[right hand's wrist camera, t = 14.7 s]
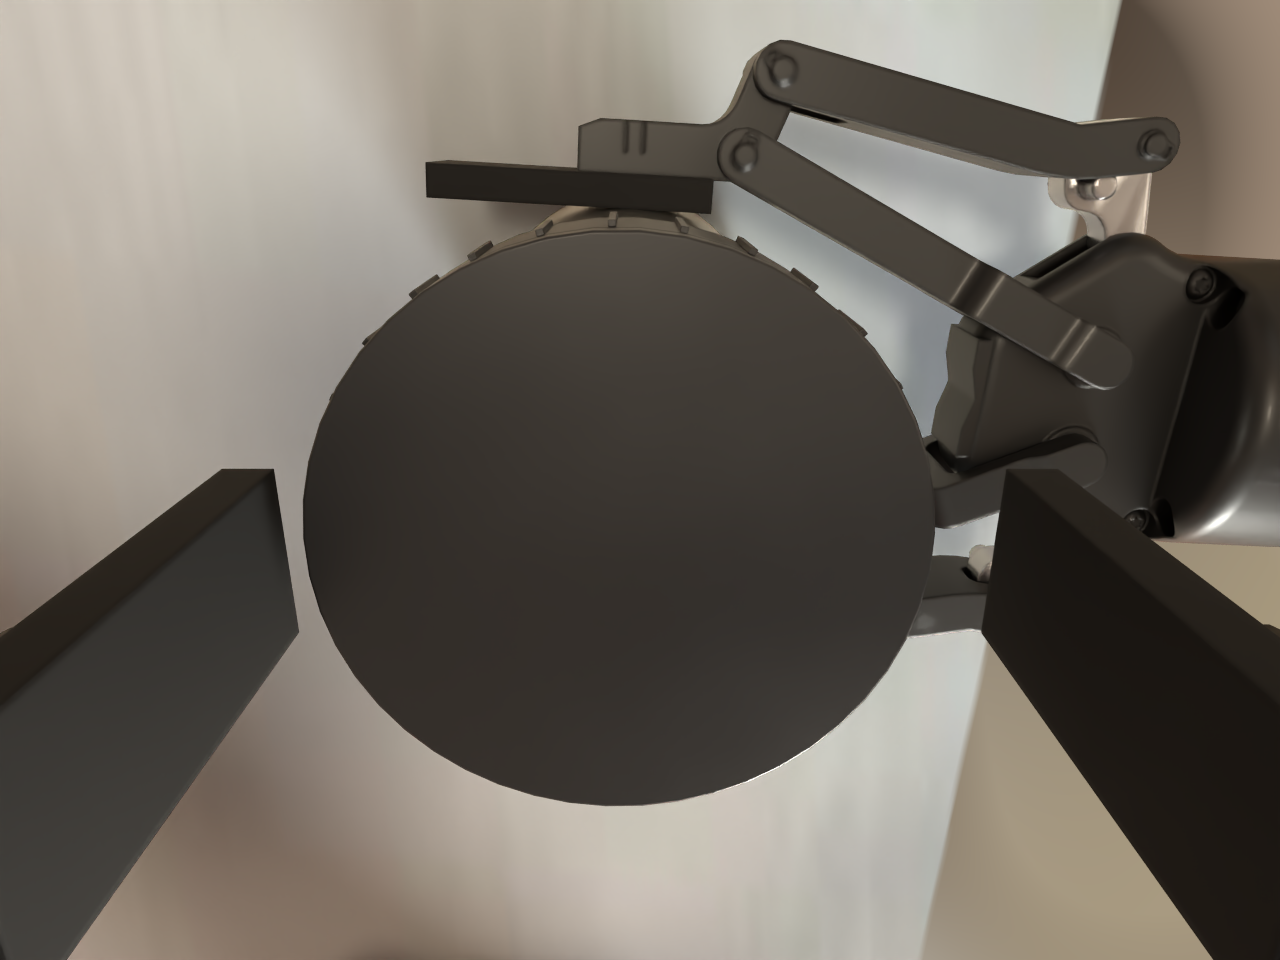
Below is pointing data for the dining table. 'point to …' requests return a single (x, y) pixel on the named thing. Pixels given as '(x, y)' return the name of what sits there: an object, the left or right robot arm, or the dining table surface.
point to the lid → (619, 513)
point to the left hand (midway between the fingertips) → (443, 363)
